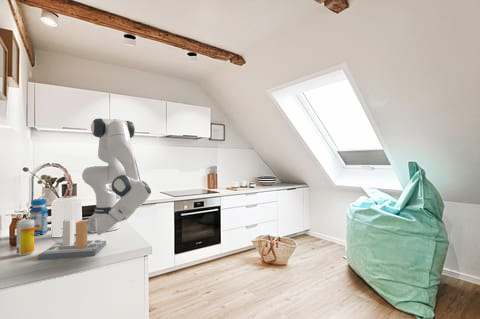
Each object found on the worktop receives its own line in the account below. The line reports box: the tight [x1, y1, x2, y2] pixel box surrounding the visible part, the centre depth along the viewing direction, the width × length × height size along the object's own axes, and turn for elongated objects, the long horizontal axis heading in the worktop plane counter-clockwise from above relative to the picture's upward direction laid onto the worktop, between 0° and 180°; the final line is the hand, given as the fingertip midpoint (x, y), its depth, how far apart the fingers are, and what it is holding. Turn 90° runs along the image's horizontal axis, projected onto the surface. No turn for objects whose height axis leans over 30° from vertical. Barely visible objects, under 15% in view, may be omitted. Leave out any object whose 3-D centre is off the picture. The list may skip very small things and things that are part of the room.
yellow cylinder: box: [16, 218, 35, 257], centre depth 114 cm, size 6×6×15 cm
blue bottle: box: [28, 198, 49, 236], centre depth 146 cm, size 8×8×20 cm
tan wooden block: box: [75, 219, 88, 249], centre depth 114 cm, size 3×5×12 cm, turn 12°
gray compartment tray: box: [37, 218, 107, 260], centre depth 116 cm, size 22×15×14 cm
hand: (98, 233), depth 115 cm, fingers closed
